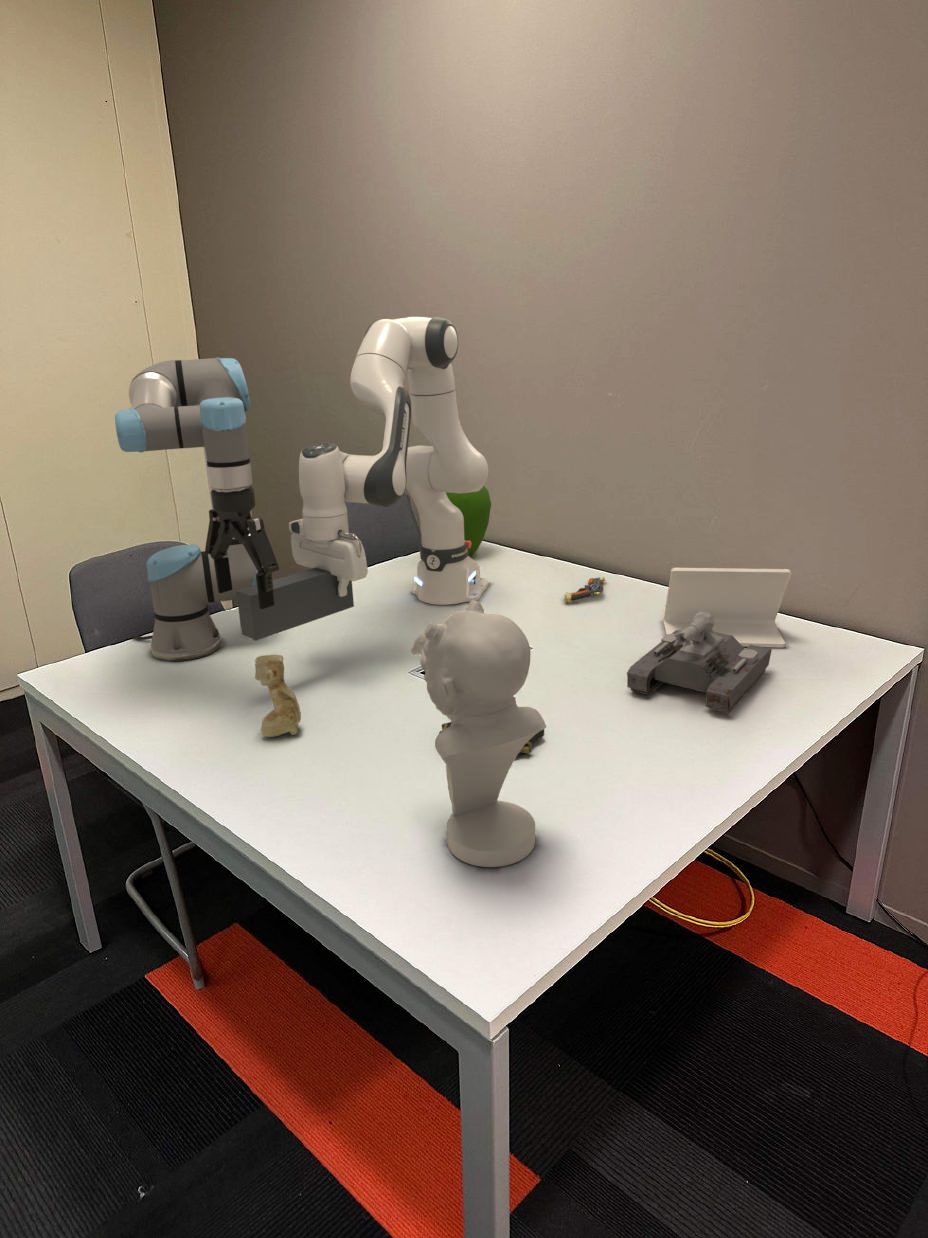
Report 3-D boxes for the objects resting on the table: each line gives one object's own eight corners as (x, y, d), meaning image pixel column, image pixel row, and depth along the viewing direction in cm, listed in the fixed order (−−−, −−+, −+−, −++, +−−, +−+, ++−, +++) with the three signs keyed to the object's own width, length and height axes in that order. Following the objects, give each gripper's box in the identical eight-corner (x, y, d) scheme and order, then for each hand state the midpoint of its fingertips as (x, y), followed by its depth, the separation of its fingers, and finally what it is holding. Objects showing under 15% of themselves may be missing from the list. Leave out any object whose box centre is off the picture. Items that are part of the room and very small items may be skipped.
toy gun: (563, 594, 215) (603, 591, 213) (568, 576, 233) (605, 573, 231) (564, 605, 216) (603, 601, 214) (569, 586, 234) (606, 583, 231)
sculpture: (264, 726, 158) (254, 651, 153) (303, 723, 159) (295, 649, 153) (260, 741, 152) (250, 664, 147) (301, 738, 153) (293, 661, 148)
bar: (255, 640, 161) (250, 596, 158) (241, 634, 164) (235, 591, 161) (354, 606, 177) (350, 565, 174) (339, 601, 180) (336, 561, 177)
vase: (453, 543, 272) (450, 466, 264) (504, 551, 261) (503, 472, 253) (414, 558, 257) (410, 478, 249) (467, 568, 247) (465, 484, 238)
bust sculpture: (481, 772, 140) (476, 569, 128) (565, 848, 120) (569, 617, 108) (392, 800, 134) (378, 588, 121) (465, 886, 114) (457, 642, 101)
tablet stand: (785, 647, 186) (794, 573, 180) (668, 644, 189) (672, 571, 183) (769, 618, 202) (776, 549, 196) (661, 616, 206) (665, 548, 200)
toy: (676, 651, 185) (680, 585, 180) (769, 671, 174) (777, 602, 169) (625, 694, 166) (628, 622, 161) (726, 720, 155) (733, 643, 150)
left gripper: (291, 493, 147) (302, 608, 155) (211, 475, 163) (225, 580, 171) (254, 501, 142) (268, 619, 150) (176, 482, 158) (192, 590, 166)
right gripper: (372, 531, 166) (377, 598, 171) (308, 516, 179) (314, 578, 184) (347, 538, 161) (352, 607, 166) (283, 522, 175) (290, 586, 180)
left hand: (245, 599), depth 160 cm, fingers open, 13 cm apart
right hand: (332, 592), depth 175 cm, fingers closed on bar, 5 cm apart
